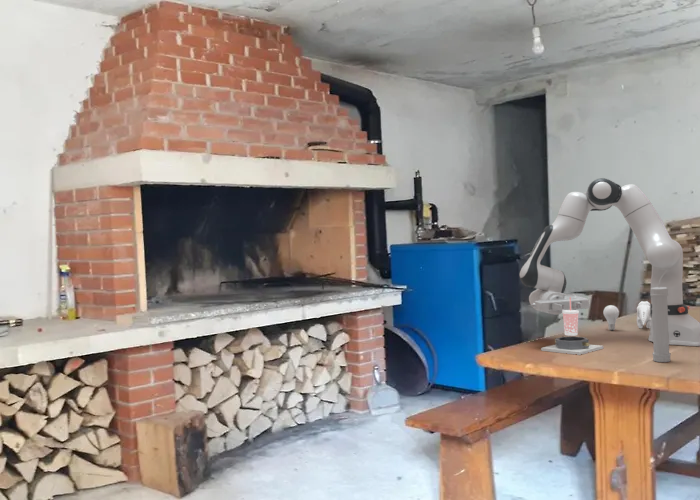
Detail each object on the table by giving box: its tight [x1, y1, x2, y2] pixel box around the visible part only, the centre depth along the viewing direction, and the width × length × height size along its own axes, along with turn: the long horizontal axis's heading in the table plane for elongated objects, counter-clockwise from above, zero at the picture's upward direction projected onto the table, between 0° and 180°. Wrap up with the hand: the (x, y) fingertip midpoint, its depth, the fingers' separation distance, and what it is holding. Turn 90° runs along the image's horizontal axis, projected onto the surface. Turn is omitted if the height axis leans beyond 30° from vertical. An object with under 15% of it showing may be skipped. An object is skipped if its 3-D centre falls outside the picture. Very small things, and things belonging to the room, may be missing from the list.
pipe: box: [649, 270, 672, 363], centre depth 225 cm, size 6×6×30 cm
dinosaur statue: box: [636, 300, 651, 330], centre depth 294 cm, size 7×24×11 cm, turn 154°
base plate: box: [540, 343, 604, 356], centre depth 253 cm, size 16×16×1 cm
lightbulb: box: [602, 304, 620, 332], centre depth 292 cm, size 6×6×11 cm
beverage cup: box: [561, 297, 580, 337], centre depth 253 cm, size 6×6×14 cm
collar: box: [554, 335, 591, 350], centre depth 253 cm, size 13×11×3 cm
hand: (571, 306), depth 252 cm, fingers open, 6 cm apart
